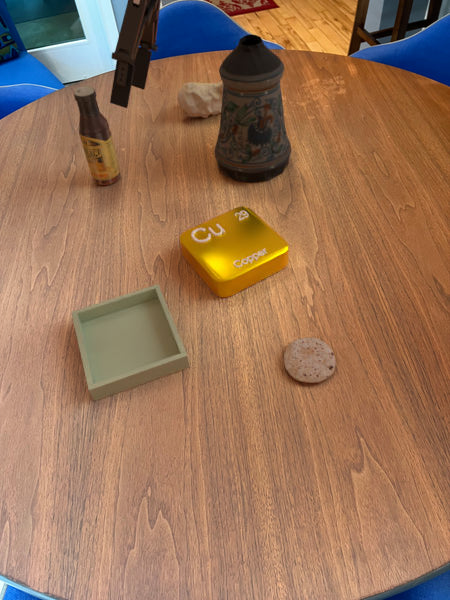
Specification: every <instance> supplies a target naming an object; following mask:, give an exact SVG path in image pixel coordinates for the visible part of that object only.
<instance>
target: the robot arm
mask: <svg viewBox="0 0 450 600" xmlns="http://www.w3.org/2000/svg"><path fill="white" fill-rule="evenodd" d="M161 2H162V0H127V3H126V7H125V11H124V15H123V19H122V23H121V27H120V30H119V34H118V37H117V42H116V46H115V49H114V52H111V59H112V60H114V61H116V63H115V69H114V75H113V80H112V88H111V92H110V93H111V94H110V98H109V99H110V101H109V103H110V104H112V105H116V106H118V107H121V108H125V109H128V106H129V103H130V96H131V90H132V87H135V88H137V89H141V90H145V89H146V84H147V78H148V73H149V71H150V70H149V69H150V65H151V64H150V63H151V60H152V59H151V58H152V53H153V52H155V53H156V52H157V51H158V47H159V46H158V44H157V34H158V27H159V20H160V11H161Z"/></svg>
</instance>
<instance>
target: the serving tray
mask: <svg viewBox="0 0 450 600" xmlns="http://www.w3.org/2000/svg"><path fill="white" fill-rule="evenodd" d="M70 313H71V317H72V318H71V319H72V321H73V326H74V331H75V335H76V341H77V344H78V350H79V353H80V359H81V362H82V368H83V372H84V375H85V380H86V385H87V390H88V392H89V394H90V396H91V397H92V399H93V401H94V402H96V401H99V400H103V399H104V398H107V397H110V396H113V395H116V394H119V393H121V392H125V391H127V390H129V389H132V388H135V387H138V386H142V385H143V384H146V383H149V382H152V381H155V380H158V379H160V378H164V377H166V376H169V375H172V374H174V373H177V372H180V371H182V370H186V369H188V368H191V365H190V361H189V357H188V353H187V351H186V348H185V345H184V344H183V341H182V339H181V336H180V334H179V331H178V329H177V326H176V324H175V321H174V319H173V317H172V314H171V311H170V308H169V307H168V304H167V301H166V299H165V297H164V295H163V292H162V289H161V287H160V284H159V283H156V284H153V285H151V286H147V287H144V288H140V289H138V290H134V291H132V292H128V293H125V294H122V295H119V296H116V297H113V298H110V299H106V300H104V301H100V302H97V303H94V304H92V305H88V306H85V307H82V308H79V309H76V310H72V311H71V312H70Z"/></svg>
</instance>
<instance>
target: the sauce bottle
mask: <svg viewBox="0 0 450 600" xmlns="http://www.w3.org/2000/svg"><path fill="white" fill-rule="evenodd" d="M73 96H74V100H75V102H76V104H77V108H78V112H79V122H78V124H79V125H78V134H79V138H80V141H81V145H82V148H83V153H84V155H85V159H86V162H87V165H88V168H89V169H88V170H89V172H90V175H91V178H92V179H93V181H94V183H95V184H97V185H101V186H110V185H111V184H114V183H116V182H117V181H118V180H119V179H120V178H121V171H120V165H119V161H118V156H117V153H116V148H115V144H114V139H113V136H112V132H111V130H110V125H109V121H108V119H107V118H106V117H105V115H103V114H102V113H101V111H100V107H99V106H98V100H97V92H96V88H95V87H93V86H89V85H83V86H79V87H77V88H75V89H74V90H73Z"/></svg>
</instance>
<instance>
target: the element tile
mask: <svg viewBox="0 0 450 600" xmlns="http://www.w3.org/2000/svg"><path fill="white" fill-rule="evenodd" d="M179 243H180V248H181V253H182V257H183V258H184V260H185V261H186V262H188V264H189V265H190V266H191V268H192V269H193V270H194V271H195V273H197V275H198V276H199V277H200V278H201V279H202V281H203V282H204V283H205V284H206V286H207V287H208V288H209V289H210V290H211V291H212V292H213V294H214V295H216V296H217V297H219V298H223V299H224V298H229V297H232V296H234V295H236V294H238V293H240V292H241V291H244V290H245V289H247V288H250V287H252V286H253V285H255V284H257V283H259V282H261V281H263V280H265V279H267V278H269V277H271V276H273V275H274V274H276V273H278V272H280V271H282V270H284V269H285V268H286V267H287V266H288V264H289V254H290V245H289V243H288V242H287V240H286V239H285V238H283V236H281V235H280V234H279V233H278V232H277V231H276V230H275V229H274V228H273V227H271V225H269V224H268V222H266V221H265V220H264V219H262V218H261V217H260V216H259V215H258V214H257V213H256V212H255V211H254V210H252V209H251V207H247V206H245V205H243V206H238V207H235V208H233V209H230V210H228V211H225V212H224V213H222V214H220V215H217V216H214V217H213V218H210V219H208V220H206V221H204V222H201V223H200V224H197V225H195V226H192V227H191V228H188V229H187V230H185V231H183V232H182V233H181V234H180V236H179Z"/></svg>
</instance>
